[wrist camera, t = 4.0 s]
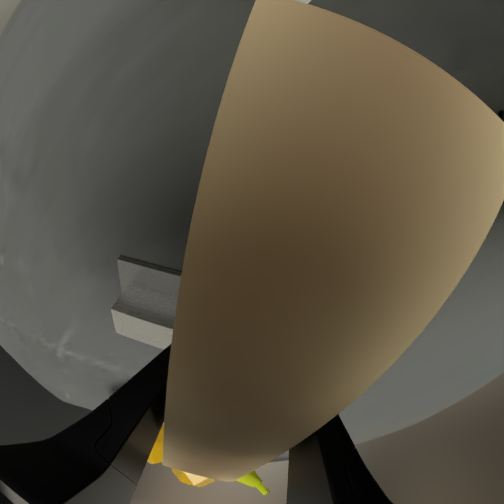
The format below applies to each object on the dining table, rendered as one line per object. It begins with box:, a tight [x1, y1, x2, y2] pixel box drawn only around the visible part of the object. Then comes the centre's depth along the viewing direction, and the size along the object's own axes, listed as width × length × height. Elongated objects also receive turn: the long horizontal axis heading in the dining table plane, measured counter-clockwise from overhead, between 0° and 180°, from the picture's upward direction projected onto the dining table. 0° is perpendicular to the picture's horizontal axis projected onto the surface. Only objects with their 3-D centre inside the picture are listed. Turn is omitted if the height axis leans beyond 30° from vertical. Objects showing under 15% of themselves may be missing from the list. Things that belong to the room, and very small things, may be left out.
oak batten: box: [163, 0, 504, 482], centre depth 8 cm, size 4×18×4 cm, turn 164°
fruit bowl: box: [147, 423, 270, 495], centre depth 34 cm, size 28×27×11 cm
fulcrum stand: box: [111, 255, 182, 349], centre depth 22 cm, size 14×8×4 cm, turn 79°
